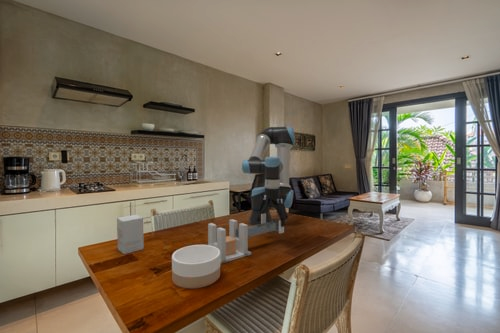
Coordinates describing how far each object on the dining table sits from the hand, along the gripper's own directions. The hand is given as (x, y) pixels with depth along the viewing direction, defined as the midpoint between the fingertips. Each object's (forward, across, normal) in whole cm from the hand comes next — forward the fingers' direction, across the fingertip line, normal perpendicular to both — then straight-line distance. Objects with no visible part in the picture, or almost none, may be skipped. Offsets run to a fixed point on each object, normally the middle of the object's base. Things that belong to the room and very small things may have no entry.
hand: (272, 229), depth 120 cm
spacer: (+2, 0, -24) cm, 24 cm away
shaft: (+1, 0, -9) cm, 9 cm away
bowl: (+6, +9, -45) cm, 46 cm away
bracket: (+6, 0, -26) cm, 27 cm away
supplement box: (+6, -32, -60) cm, 68 cm away
